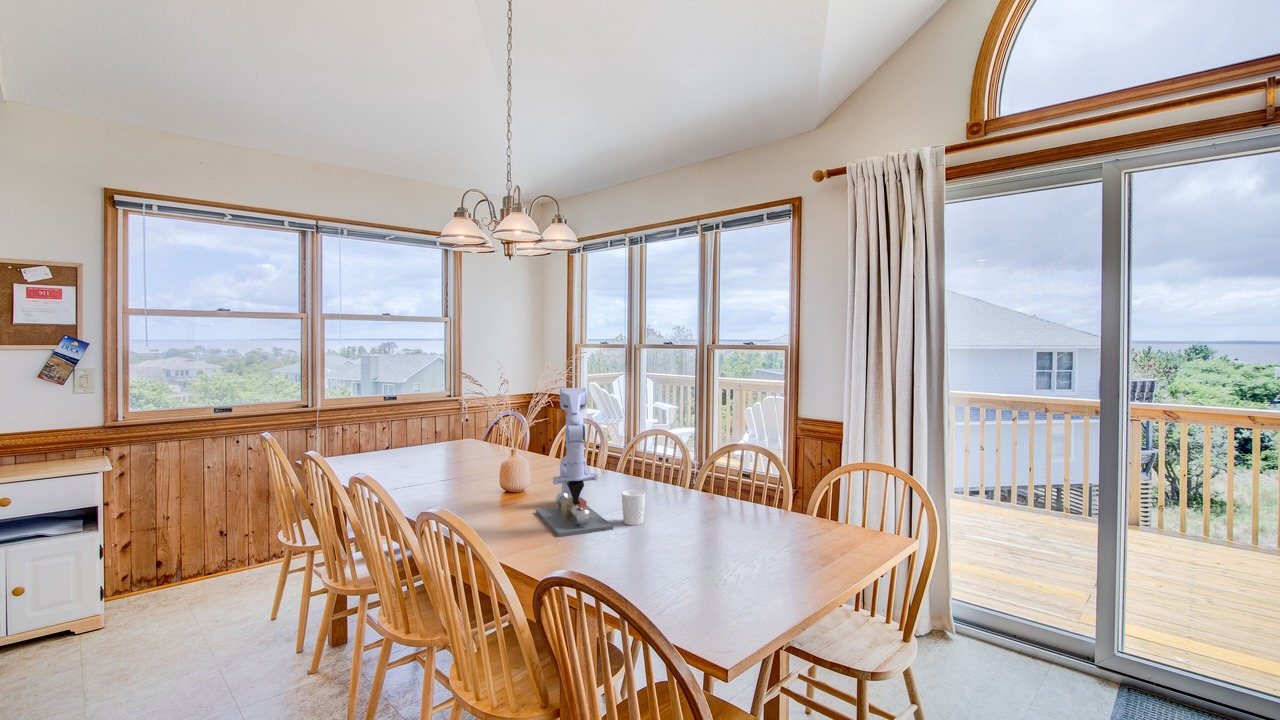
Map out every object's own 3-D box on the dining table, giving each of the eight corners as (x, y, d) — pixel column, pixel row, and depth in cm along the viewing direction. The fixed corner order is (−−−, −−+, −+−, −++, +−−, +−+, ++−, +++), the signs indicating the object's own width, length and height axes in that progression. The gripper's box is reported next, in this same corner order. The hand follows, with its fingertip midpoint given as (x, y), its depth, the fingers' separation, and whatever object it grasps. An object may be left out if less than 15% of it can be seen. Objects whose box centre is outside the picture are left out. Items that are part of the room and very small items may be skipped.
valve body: (553, 508, 204) (553, 492, 204) (570, 506, 207) (570, 490, 207) (574, 529, 182) (574, 510, 182) (594, 526, 185) (594, 507, 184)
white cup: (645, 526, 189) (645, 495, 189) (621, 526, 189) (621, 495, 189) (645, 519, 197) (645, 489, 196) (622, 518, 197) (622, 489, 197)
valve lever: (567, 498, 195) (567, 493, 195) (575, 497, 196) (575, 492, 196) (579, 507, 184) (579, 502, 184) (587, 506, 185) (587, 501, 185)
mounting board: (536, 512, 204) (536, 509, 204) (584, 506, 211) (584, 503, 211) (558, 537, 178) (558, 533, 178) (612, 529, 186) (612, 525, 185)
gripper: (556, 466, 179) (557, 510, 180) (600, 462, 185) (600, 504, 186) (550, 462, 186) (550, 504, 186) (593, 458, 192) (593, 499, 192)
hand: (575, 504), depth 186 cm, fingers closed
